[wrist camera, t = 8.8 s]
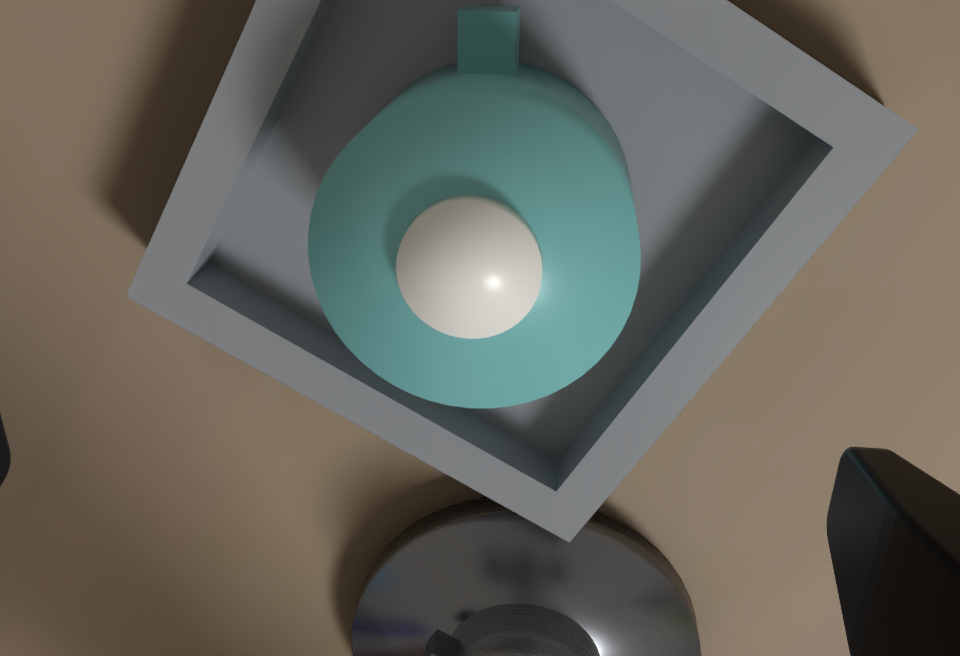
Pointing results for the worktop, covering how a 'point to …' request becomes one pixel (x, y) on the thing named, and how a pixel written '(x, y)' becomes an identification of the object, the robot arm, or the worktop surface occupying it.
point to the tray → (656, 193)
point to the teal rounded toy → (479, 229)
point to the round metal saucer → (521, 591)
